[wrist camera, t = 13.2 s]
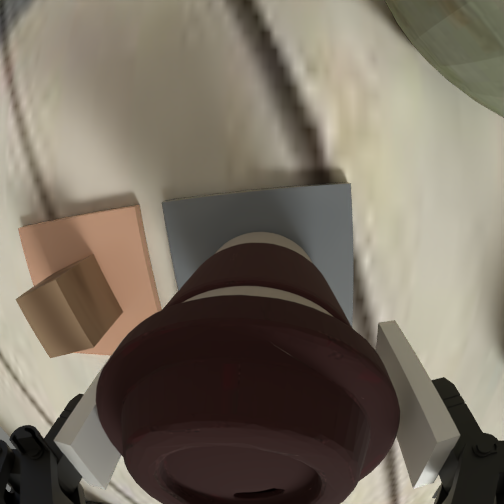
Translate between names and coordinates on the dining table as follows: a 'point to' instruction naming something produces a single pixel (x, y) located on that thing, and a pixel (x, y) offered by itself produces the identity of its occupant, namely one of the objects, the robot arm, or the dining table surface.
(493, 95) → the vase
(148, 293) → the terracotta tile
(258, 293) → the coffee cup
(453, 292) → the dining table surface
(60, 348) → the walnut block
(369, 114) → the dining table surface
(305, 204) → the slate tile
